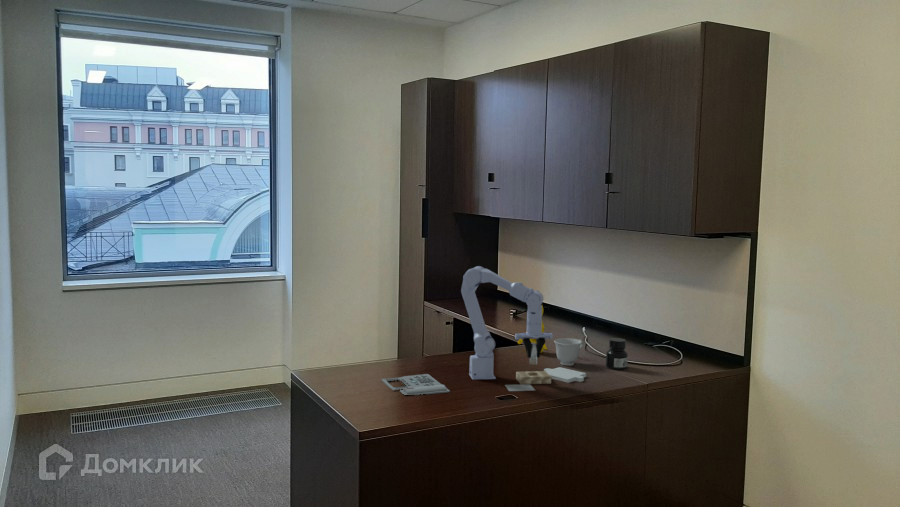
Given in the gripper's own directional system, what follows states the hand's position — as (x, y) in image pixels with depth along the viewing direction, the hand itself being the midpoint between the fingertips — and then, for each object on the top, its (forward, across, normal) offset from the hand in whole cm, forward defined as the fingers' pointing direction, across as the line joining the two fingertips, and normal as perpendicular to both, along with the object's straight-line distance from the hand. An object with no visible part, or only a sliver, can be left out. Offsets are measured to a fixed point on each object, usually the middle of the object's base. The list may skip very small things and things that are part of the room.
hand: (533, 357), depth 275 cm
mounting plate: (+11, +14, +7) cm, 19 cm away
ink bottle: (+10, +41, +19) cm, 47 cm away
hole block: (+10, 0, +1) cm, 10 cm away
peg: (+2, 0, 0) cm, 3 cm away
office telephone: (+11, -46, -2) cm, 48 cm away
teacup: (+10, +23, +27) cm, 37 cm away
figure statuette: (+10, +13, +47) cm, 50 cm away
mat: (+10, -7, -8) cm, 14 cm away
